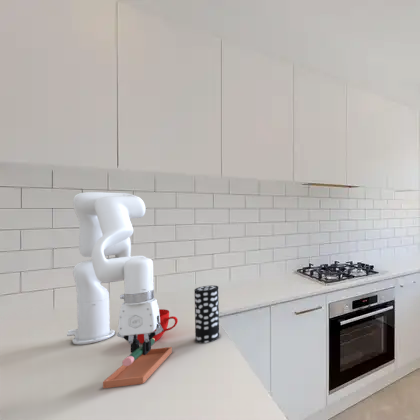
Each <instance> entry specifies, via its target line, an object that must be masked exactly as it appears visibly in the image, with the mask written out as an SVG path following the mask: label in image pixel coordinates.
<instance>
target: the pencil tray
mask: <svg viewBox="0 0 420 420" xmlns="http://www.w3.org/2000/svg"><path fill="white" fill-rule="evenodd" d="M172 353H173V347H172V346H168V347H158V348H151V350H150V351H149V352H148V353H147V354H146V355H143V354H142V355H141V356H140V357H138V358H137V359H136V360H135V361H134V362H133V363H132V364H131V365H129V366H124V365H123V364H122V365H120V367H118V368H117V369H116V370H115V371H114V372H112V373H111V374H110V375H108V377H107V378H105V379H104V380H103V381H102V389H112V388H118V387H128V386H136V385H142V384H144V383H146V381H147V380H148V379H149V378H150V377H151V376H152V375H154V373H155V372H156V371H157V369H159V367H160V366H161V365H162V364H163V363H164V362H165V361H166V360H167V358H168V357H169V356H170V355H171V354H172Z"/></svg>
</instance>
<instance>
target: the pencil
mask: <svg viewBox="0 0 420 420" xmlns="http://www.w3.org/2000/svg"><path fill="white" fill-rule="evenodd" d="M155 342H156V341H155V339H154V338H152V339H151V347H152V346H153V345H154V344H155ZM142 354H143V343H141V345H139V347H138V348H137V349H136V350H135V351H134V352H132V353H131V352H130V354H129V355H127V356H126V357H125V358H124V359H123V360H122V365H124V366H129V365H131V364H132V363H133V362H134V361H135V360H136V359H137V358H138V357H140V356H141V355H142Z"/></svg>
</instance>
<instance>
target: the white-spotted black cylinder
mask: <svg viewBox="0 0 420 420" xmlns="http://www.w3.org/2000/svg"><path fill="white" fill-rule="evenodd" d="M219 295H220V294H219V286H218V285H203V286H199V287H196V288H194V331H195V332H194V333H195V334H194V335H195V336H194V337H195V338H194V339H195V342H196V343H198V344H206V343H211V342H213V341H216V340H218V339H219V338H220V307H219V306H220V305H219V304H220V302H219V300H220V297H219Z"/></svg>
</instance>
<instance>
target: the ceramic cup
mask: <svg viewBox="0 0 420 420" xmlns="http://www.w3.org/2000/svg"><path fill="white" fill-rule="evenodd" d="M159 314H160V324H161V326H162V328H163V331H162V332H161V333H159V334H157V335H155V336H154V337H153V338H154V339H155V342H157V341H158V340H160V339H161V337H163V335H164V334H165V333H166V332H168V331H170V330H172V329H174V328H175V327H176V326H177V324H178V322H179V320H178V317H176V316H172V315H171V316H170V311H169V310H168V309H165V308H163V309H162V308H161V309H160V308H159ZM170 320H174V323H173V325H172V326H170V327H169V321H170ZM154 331H156V329H155V330H154ZM154 331H153V332H154ZM137 340H139V344H143V343H144V334H138V335H137Z"/></svg>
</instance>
